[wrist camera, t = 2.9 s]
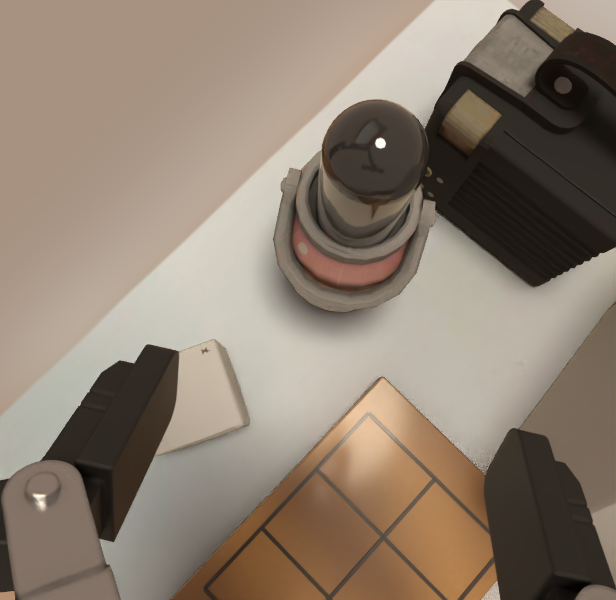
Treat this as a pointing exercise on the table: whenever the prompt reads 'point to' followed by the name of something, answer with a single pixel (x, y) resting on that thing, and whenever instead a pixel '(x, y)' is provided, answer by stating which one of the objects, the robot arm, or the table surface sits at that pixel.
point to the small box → (204, 398)
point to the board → (363, 519)
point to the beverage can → (344, 249)
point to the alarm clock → (587, 426)
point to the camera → (529, 144)
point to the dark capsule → (369, 171)
